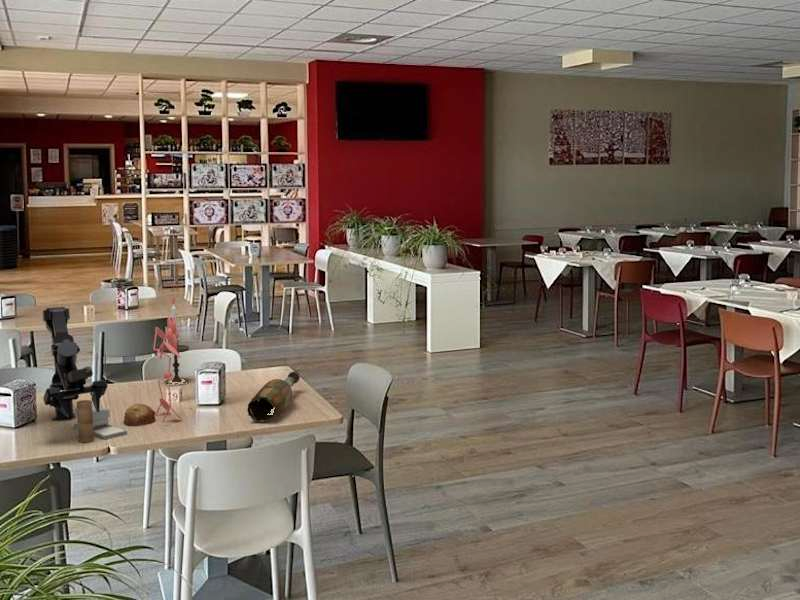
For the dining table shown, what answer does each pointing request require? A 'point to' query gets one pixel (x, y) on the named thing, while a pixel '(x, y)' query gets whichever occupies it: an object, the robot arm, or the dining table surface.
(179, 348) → the candlestick
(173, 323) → the figurine
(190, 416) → the dining table surface
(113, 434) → the grey stand
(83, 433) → the walnut roller
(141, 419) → the bread roll
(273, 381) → the decorative bottle
